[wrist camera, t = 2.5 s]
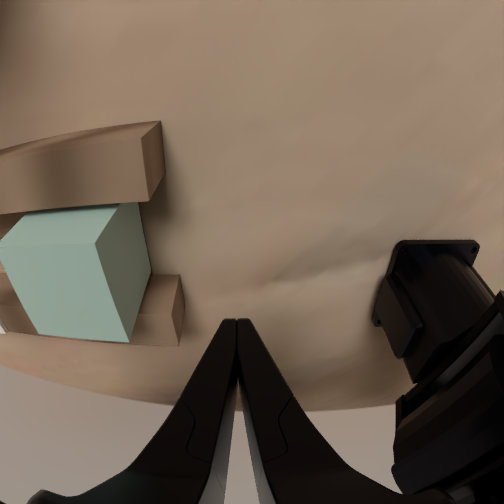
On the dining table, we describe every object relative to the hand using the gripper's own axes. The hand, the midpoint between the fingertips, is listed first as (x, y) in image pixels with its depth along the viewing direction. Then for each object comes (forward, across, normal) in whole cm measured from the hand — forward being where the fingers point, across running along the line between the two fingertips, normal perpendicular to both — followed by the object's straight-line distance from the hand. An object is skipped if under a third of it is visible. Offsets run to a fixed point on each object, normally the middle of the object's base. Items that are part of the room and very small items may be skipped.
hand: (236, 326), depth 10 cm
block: (+6, +7, 0) cm, 10 cm away
